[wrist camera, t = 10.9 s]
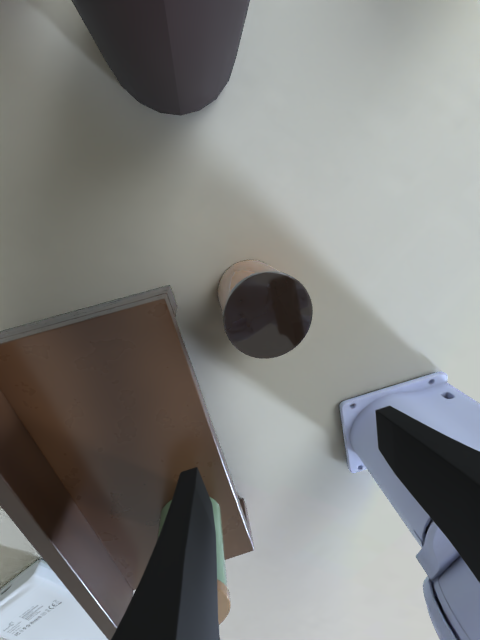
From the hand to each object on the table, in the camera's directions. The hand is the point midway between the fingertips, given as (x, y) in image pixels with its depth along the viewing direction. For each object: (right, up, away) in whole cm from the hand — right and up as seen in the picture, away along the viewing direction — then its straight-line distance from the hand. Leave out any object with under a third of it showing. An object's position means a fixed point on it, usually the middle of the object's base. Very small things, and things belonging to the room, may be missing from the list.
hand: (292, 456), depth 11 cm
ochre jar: (-1, +7, +8) cm, 11 cm away
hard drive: (-18, -22, +16) cm, 33 cm away
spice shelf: (-9, -4, +11) cm, 15 cm away
